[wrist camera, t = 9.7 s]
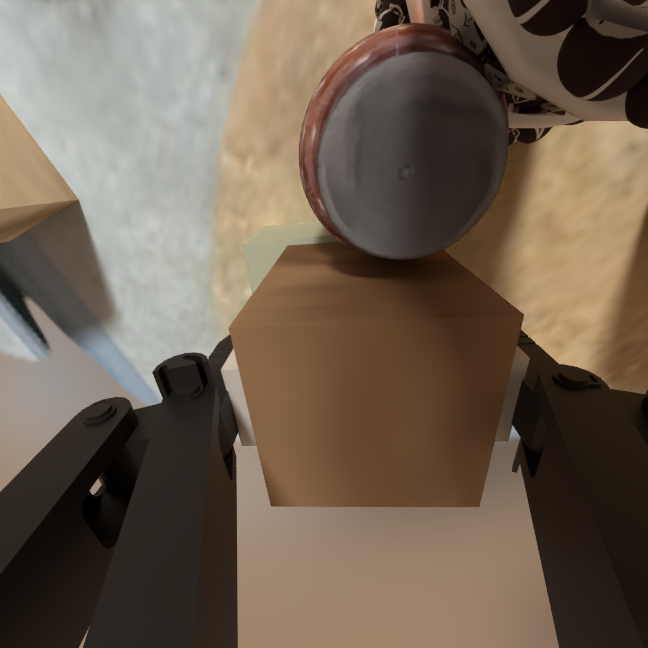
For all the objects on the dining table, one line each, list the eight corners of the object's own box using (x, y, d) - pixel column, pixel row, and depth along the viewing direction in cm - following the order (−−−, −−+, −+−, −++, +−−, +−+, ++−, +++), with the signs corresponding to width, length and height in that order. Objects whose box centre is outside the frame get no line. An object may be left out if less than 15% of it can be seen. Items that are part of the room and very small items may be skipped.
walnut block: (302, 359, 16) (271, 506, 9) (287, 245, 14) (228, 327, 7) (417, 355, 16) (479, 506, 9) (425, 236, 13) (524, 314, 6)
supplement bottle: (346, 219, 18) (316, 319, 9) (313, 101, 15) (216, 61, 6) (453, 187, 17) (558, 267, 7) (438, 49, 14) (580, -124, 4)
